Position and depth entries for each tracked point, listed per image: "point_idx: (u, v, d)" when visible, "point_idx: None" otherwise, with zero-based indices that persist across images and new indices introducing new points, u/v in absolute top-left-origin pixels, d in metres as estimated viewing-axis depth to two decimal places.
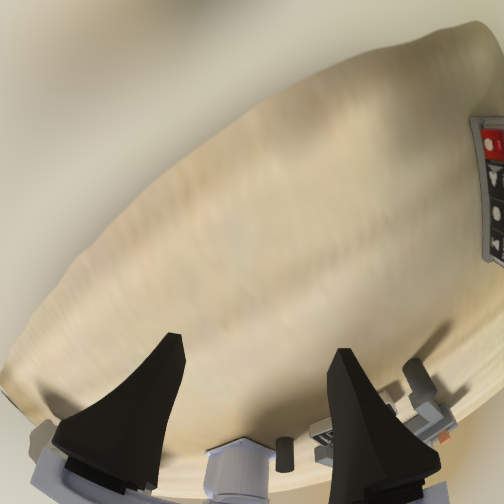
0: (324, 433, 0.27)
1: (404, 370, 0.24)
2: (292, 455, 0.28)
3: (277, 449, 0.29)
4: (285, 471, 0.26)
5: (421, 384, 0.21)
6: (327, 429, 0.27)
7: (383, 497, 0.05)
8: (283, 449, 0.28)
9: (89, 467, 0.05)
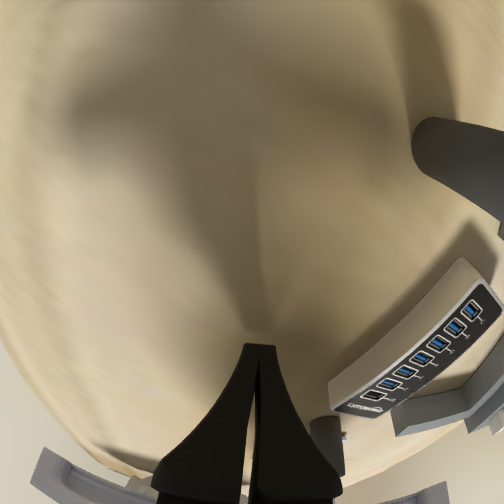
0: (357, 398, 0.12)
1: (423, 167, 0.08)
2: (334, 448, 0.15)
3: None
4: None
5: (480, 157, 0.04)
6: (359, 388, 0.12)
7: None
8: (316, 442, 0.16)
9: (189, 500, 0.05)
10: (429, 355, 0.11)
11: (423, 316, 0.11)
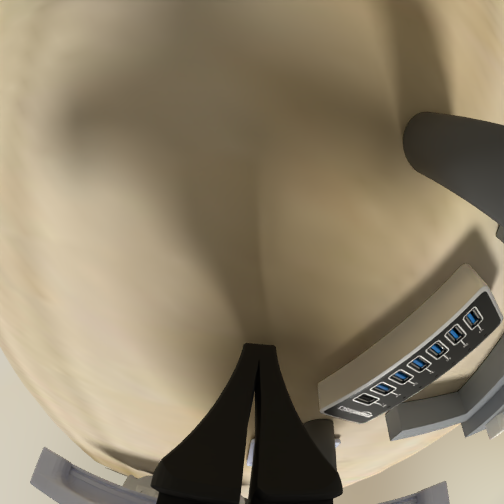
0: (349, 401, 0.12)
1: (415, 164, 0.08)
2: (326, 452, 0.14)
3: None
4: None
5: (475, 152, 0.04)
6: (352, 391, 0.12)
7: None
8: None
9: (189, 500, 0.05)
10: (427, 361, 0.10)
11: (424, 320, 0.10)
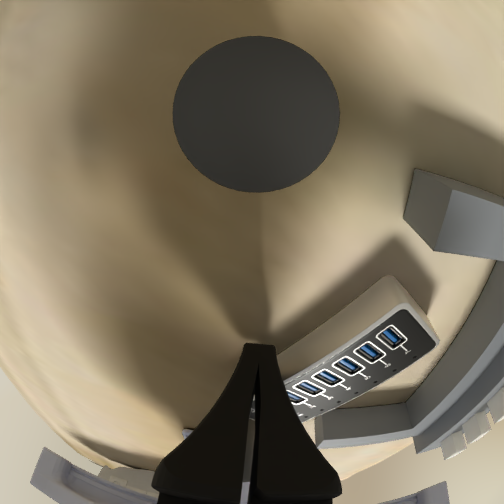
0: None
1: None
2: None
3: None
4: (243, 481, 0.14)
5: None
6: None
7: None
8: None
9: (189, 500, 0.05)
10: (338, 376, 0.11)
11: (333, 332, 0.11)
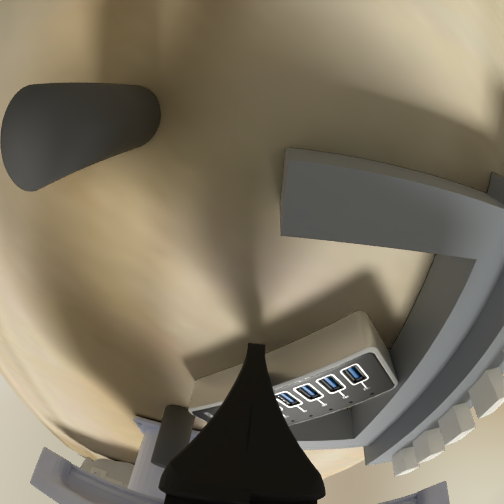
0: (215, 410, 0.13)
1: None
2: (172, 439, 0.15)
3: None
4: None
5: None
6: (217, 402, 0.12)
7: None
8: (160, 428, 0.16)
9: (196, 501, 0.05)
10: (297, 399, 0.12)
11: (300, 359, 0.11)
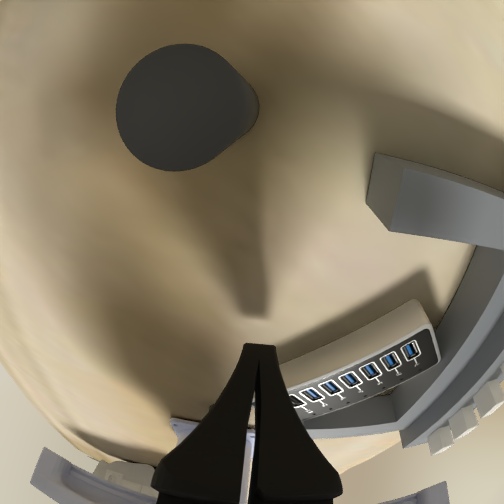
0: None
1: None
2: None
3: None
4: None
5: None
6: None
7: None
8: None
9: (189, 500, 0.05)
10: (358, 379, 0.12)
11: (364, 340, 0.12)
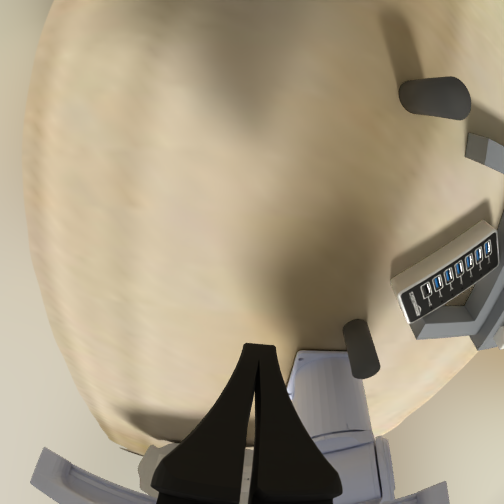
0: (418, 287, 0.18)
1: (406, 105, 0.13)
2: (367, 342, 0.20)
3: (346, 345, 0.22)
4: (372, 373, 0.19)
5: (428, 87, 0.10)
6: (423, 277, 0.18)
7: None
8: (351, 340, 0.21)
9: (189, 500, 0.05)
10: (462, 269, 0.17)
11: (464, 241, 0.17)
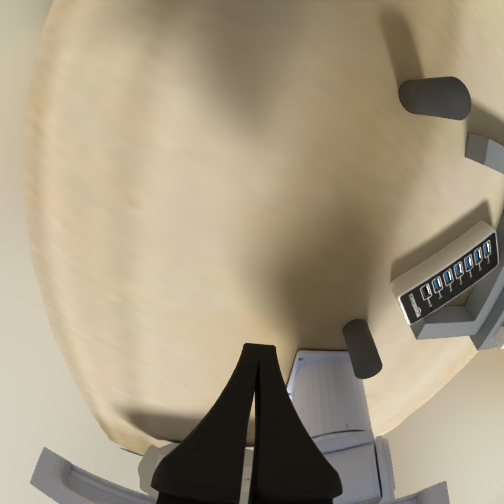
0: (418, 289, 0.18)
1: (406, 105, 0.13)
2: (368, 342, 0.20)
3: (347, 346, 0.22)
4: (374, 372, 0.19)
5: (428, 87, 0.10)
6: (422, 279, 0.18)
7: None
8: (351, 341, 0.21)
9: (189, 500, 0.05)
10: (461, 270, 0.17)
11: (463, 242, 0.17)
